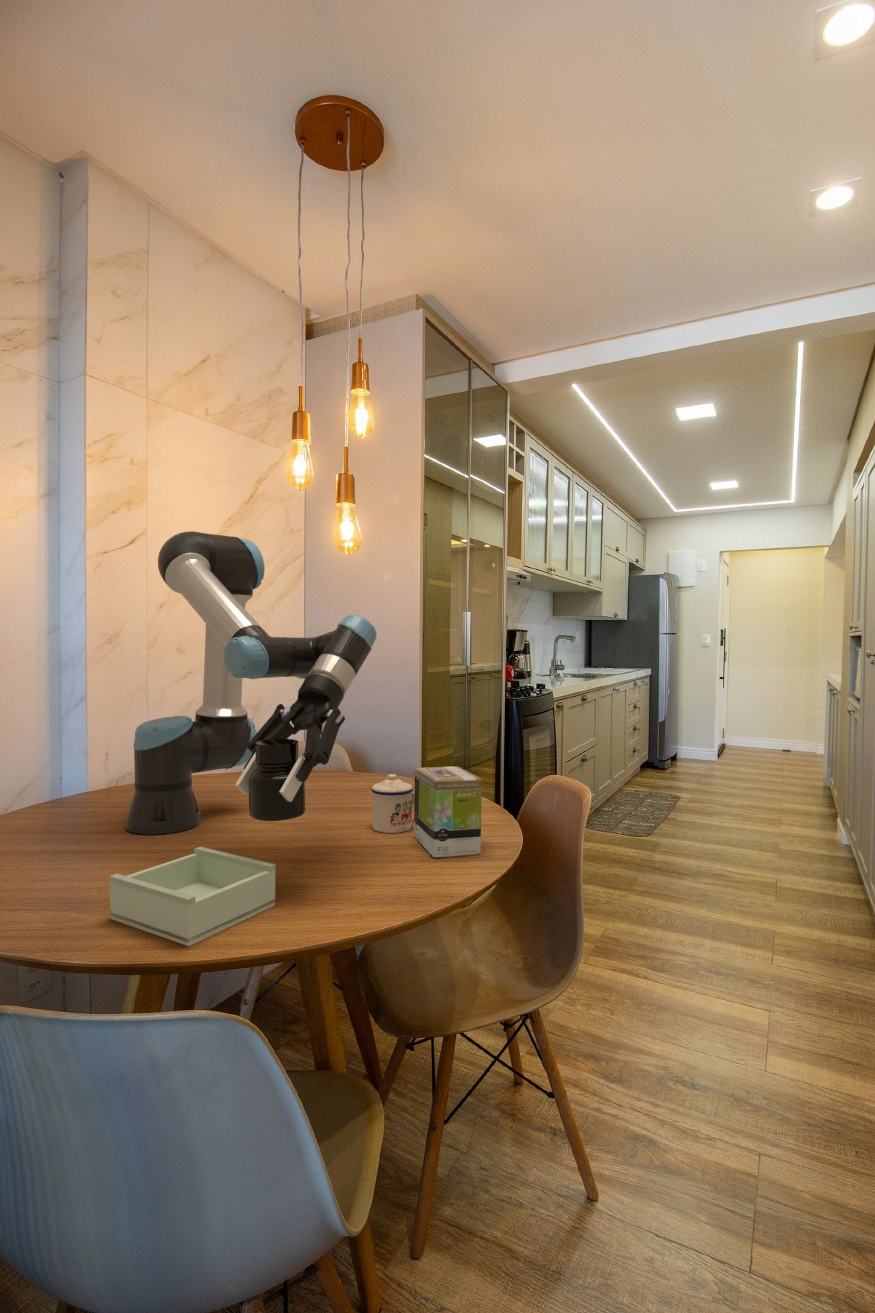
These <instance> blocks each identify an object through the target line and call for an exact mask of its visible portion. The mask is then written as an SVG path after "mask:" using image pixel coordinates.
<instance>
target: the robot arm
mask: <svg viewBox="0 0 875 1313" xmlns="http://www.w3.org/2000/svg"><path fill="white" fill-rule="evenodd" d="M157 568H158V572H159V575H160V577H161V579H162V580H163V581H164V583H165V584H166V586H167V587H168V588H169V589H170V590H172V592H174V593H177V594H181V595H182V597H183V598H184V599H185V600H186V601H187V603H188V604H189V605H190V607H192V609H193V610H194V611H195V613H197V614H198V616H199V617H200V618H201V620H202V621H203V622H204V623H205V635H204V636H205V637H204V641H205V642H204V660H203V661H204V664H203V690H202V691H203V692H202V703H201V704H202V705H201V706H200V707H199V708H198V709H196V710H195V716H194V721H193V719H192V718H191V717H190V716H189V715H187V716H186V715H174V716H166V717H161V718H160V717H159V718H153V719H150V720H148V721H145V722H142V723H141V724H138V726H137V727H136V729H135V731H134V742H133V745H132V746H133V750H134V752H133V753H134V755H133V757H134V759H133V760H134V761H133V762H134V766H133V767H134V794H133V797H132V799H131V802H130V805H129V809H128V812H127V815H126V817H125V830H126V829H127V830H128V831H127V830H126V831H127V832H129V831H130V832H129V833H132V832H134V833H133V834H136V833H141V834H140V835H162V834H163V835H165V834H172V833H179V832H183V831H187V830H189V829H192V828H194V827H197V826H198V825H199V824H201V810H200V808H199V806H198V803H197V802H198V801H197V798H196V796H195V793H194V790H193V774H196V773H203V772H211V771H216V770H217V771H218V770H223V769H224V770H228V769H232V768H235V767H238V766H239V767H240V766H243V765H244V766H243V771H242V773H241V774H240V776H239V778H238V779H237V781H236V782H235V784H234V785H235V787H236V788H237V789H238V790H239V791H240V792H241V793H242V794H243V795H247V796H248V795H249V778H250V776H251V774H252V773H253V772H255V770H256V769H257V768H259V767H258V766H257V765H256V742H258V741H262V740H269V739H289V738H290V736H292V735H296V734H297V733H299V732H300V731H304V730H305V731H306V736H305V737H306V738H305V746H304V752H302V753H301V754H302V756H303V757H304V758H303V757H300V756H298V760H297V762H296V763H295V765H294V767H293V769H292V770H291V772H290V774H289V776H288V777H287V779H286V781H285V782H284V784H283V786H282V788H281V789H280V791H279V792H280V793H281V794H282V795H283V797H284V798H285V799H286V800H287V801H289V802H292V800H293V798H294V796H295V795H296V793H297V791H298V789H299V787H300V785H301V784H302V782H305V783H306V781H307V780H308V778H309V776H310V774H311V772H312V771H313V770H314V768H315V767H317V766H318V765H319V764H321V765H323V766H325V765H327V764H328V763H329V761H330V757H331V755H332V751H333V749H334V746H335V742H336V740H337V736H338V733H339V730H340V728H341V726H342V725H343V723H344V722H345V721H346V717H345V715H344V714H343V713H342V711H341V710H340V708H339V706H340V705H341V703H342V702H343V701H344V700H343V699H345V698H344V697H345V695H346V693H347V692H348V690H349V688H350V686H351V685H352V683H353V681H354V679H355V678H356V675H357V674H358V673H359V671H360V669H361V668H362V666H363V664H364V662H365V660H366V659H367V658H368V656H369V654H370V652H371V651H372V647H373V645H374V644H375V641H376V640H377V631H376V627H375V626H374V625H373V624H372V623H371V621H370V620H368V619H366V618H365V617H363V616H361V615H357V614H349V615H346V616H345V617H343V618H342V620H341V621H340V622H339V623H338V624H337V627H336V628H335V630H334V629H333V630H332V631H329V632H325V633H323V634H320V635H316V636H313V637H289V636H288V637H287V636H285V637H284V636H281V637H280V636H270V635H269V633H268V632H267V631H266V630H265V629H263V627H262V626H261V625H260V624H259V623H258V622H257V621H256V620H255V619H254V617H253V616H252V615H251V614H250V613H249V612H248V610H246V604H247V602H249V601H250V600H251V599H252V598H253V593H254V592H253V591H254V590H255V589H258V588H259V587H260V586H261V585H262V581H263V580H264V578H265V568H266V567H265V561H264V557H263V555H262V551H261V550H260V549H259V548H258V546H257V544H256V543H255V542H253V541H252V540H249V539H246V538H241V537H238V536H230V535H221V534H213V533H207V532H206V533H204V532H201V531H200V532H199V531H183V532H179V533H177V534H174V535H173V536H171V537H169V538H168V539H167V540H166V541H165V542H164V544H163V545H162V546H161V549H160V551H159V552H158V557H157ZM289 677H290V678H291V677H293V678H298V679H299V680H300V679H304V680H303V682H302V684H301V686H300V687H299V689H298V692H297V699H296V701H295V702H294V703H292V705H291V706H284V704H283V703H279V704H278V705H276V708H275V709H274V712H273V714H272V715H271V716H270V717H269V718H268V720H266V722H265V723H264V724H263V725H262V726H261V727H260V729H259V730H257V729H256V724H255V722H254V721H253V720H252V719H251V718H249V717H248V716H249V714H248V710H247V709H245V708H244V707H243V705H242V698H243V697H242V695H243V694H242V693H243V679H249V680H257V679H270V678H289ZM323 725H324V726H323ZM164 833H165V834H164Z"/></svg>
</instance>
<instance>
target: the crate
mask: <svg viewBox="0 0 875 1313" xmlns="http://www.w3.org/2000/svg"><path fill="white" fill-rule="evenodd" d="M193 850H194V851H193V853H191V854H189V855H185V856H182V857H179V858H176V859H173V860H171V861H170V860H169V861H167V862H165V863H161V864H158V865H155V866H152V867H149V868H146V869H143V870H140V871H137V872H133V873H131V874H127V875H123V874H120V873H114V874H112V875H109V876H108V877H109V878H108V880H109V918H110V919H109V920H112V921H115V922H119V923H121V924H124V925H127V926H129V927H133V928H135V929H139V930H141V931H143V932H147V933H150V934H151V935H155V936H158V937H162V938H164V939H167V940H169V941H172V942H175V943H178V944H181V945H183V946H186V947H191V946H193V945H196V944H197V943H199V942H201V941H203V940H205V939H208V938H210V937H213V936H215V935H216V934H218V933H220V932H222V931H224V930H226V929H228V928H230V927H233V926H235V925H237V924H239V923H241V922H243V921H245V920H247V919H250V918H252V917H254V916H255V915H258V914H260V913H263V912H264V911H266V910H269V909H271V908H272V907H275V906H276V867H277V865H276V864H275V863H272V862H271V863H270V862H267V861H263V860H259V859H254V858H250V857H246V856H242V855H237V854H232V853H229V852H225V851H219V850H216V849H212V848H207V847H204V846H197V847H195V848H194V849H193Z"/></svg>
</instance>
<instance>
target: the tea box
mask: <svg viewBox="0 0 875 1313" xmlns="http://www.w3.org/2000/svg"><path fill="white" fill-rule="evenodd" d="M482 784H483V780H482V778H480V777H479V776H477V775H475V774H473V773H471V772H470V771H467V770H466V769H463V768H462V767H459V766H457V765H456V766H434V767H431V766H430V767H429V766H428V767H427V766H426V767H415V768H414V806H413V810H414V812H413V836H414V838H415V839H416V840H417V841H418V842H419V843H420V844H421V846H423V848H425V850H426V851H427V852H428V853H429V854H430V856H432V858H449V857H450V858H451V857H462V856H474V855H480V854H481V848H482V847H481V846H482V834H481V833H482V808H483V806H482V795H483V785H482Z"/></svg>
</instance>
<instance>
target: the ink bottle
mask: <svg viewBox="0 0 875 1313" xmlns="http://www.w3.org/2000/svg"><path fill="white" fill-rule="evenodd" d="M298 758H299V740H297V739H292V738H287V739H269V740H262V741H258V742H256V765H257V766H258V767H259V768H257V769H256V770H255V772H253V773H252V774H251V776H250V778H249V793H248V808H249V815H250V817H251V818H252V819H254V820H258V821H262V822H279V821H287V820H293V819H296V818H299V817H301V816H303V815H304V814H306V781H305V782H302V784H301V785H300V787H299V789H298V791H297V793H296V795H295V796H294V798H293V800H292V802H289V801H287V800H286V799H285V798H284V797H283V795H282V794H281V793H280V792H279V791H280V789H281V788H282V786H283V784H284V782H285V781H286V779H287V777H288V776H289V774H290V772H291V770H292V769H293V767H294V765H295V763H296V762H297V760H298Z"/></svg>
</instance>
